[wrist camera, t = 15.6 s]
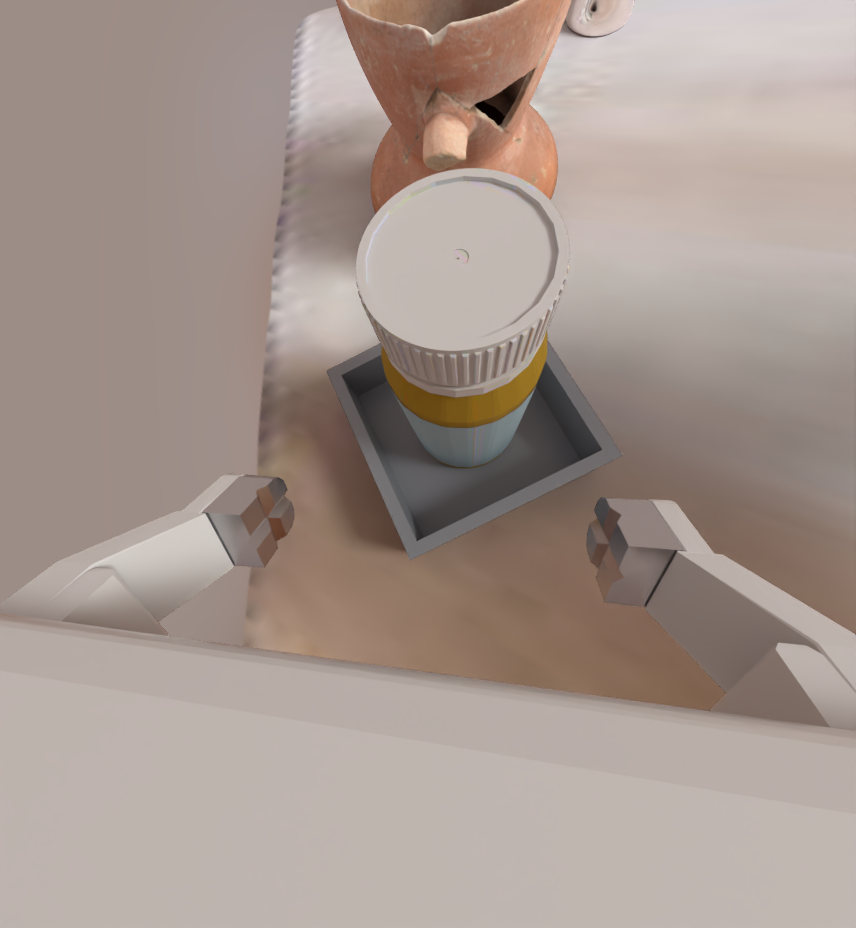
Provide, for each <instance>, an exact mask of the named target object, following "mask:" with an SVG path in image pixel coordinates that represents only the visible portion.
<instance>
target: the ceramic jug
mask: <svg viewBox="0 0 856 928" xmlns="http://www.w3.org/2000/svg"><path fill="white" fill-rule="evenodd" d="M336 1H337V5H338V8H339V11H340V14H341V17H342V20H343V23H344V25H345V28H346V31H347V34H348V36H349V39H350V42H351V44H352V46H353V49H354V51H355V53H356V56H357V58H358V60H359V62H360V65H361V67H362V69H363V71H364V73H365V75H366V77H367V79H368V81H369V84H370V86H371V88H372V90H373V91H374V93H375V95H376V97H377V99H378V101H379V103H380V104H381V106H382V108H383V110H384V111H385V113H386V115H387V116H388V118H389V120H390V121H391V123H392V126H391V127H390V128H389V130H388V131H387V133H386V134H385V136H384V138H383V139H382V141H381V143H380V145H379V148H378V150H377V153H376V156H375V159H374V163H373V168H372V175H371V197H372V202H373V206H374V210H375V213H377V212H378V211H379V209H380V208H381V207H382V206H383V205H384V204H385V203H386V202H387V201H388V200H389V199H391V198H392V197H393V196H394V195H396V194H397V193H398V192H400V191H401V190H402V189H404V188H406V187H407V186H409V185H411V184H413V183H414V182H416V181H419V180H421V179H423V178H425V177H428V176H431V175H434V174H437V173H441V172H445V171H449V170H456V169H466V168H480V169H490V170H496V171H501V172H504V173H508V174H511V175H514V176H516V177H518V178H521V179H523V180H525V181H527V182H528V183H530V184H532V185H533V186H535V187H536V188H537V189H539V190H540V191H541V192H542V193H544V194H545V195H546V196H547V197H548V198H549V199H550V200H551V198H552V195H553V192H554V189H555V185H556V181H557V173H558V158H557V150H556V145H555V141H554V138H553V136H552V133H551V131H550V129H549V127H548V125H547V124H546V122H545V121H544V120H543V118H542V117H541V116H540V115H539V113H538V112H537V111H536V110H535V109H534V108H533V107H532V106H531V105H530V104H529V103H530V101H531V99H532V97H533V95H534V92H535V90H536V88H537V86H538V83H539V81H540V79H541V77H542V74H543V72H544V69H545V67H546V64H547V62H548V60H549V57H550V55H551V53H552V50H553V48H554V45H555V43H556V41H557V38H558V36H559V33H560V31H561V28H562V25H563V23H564V21H565V18H566V15H567V12H568V9H569V6H570V4H571V1H572V0H336Z"/></svg>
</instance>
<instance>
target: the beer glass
mask: <svg viewBox="0 0 856 928" xmlns="http://www.w3.org/2000/svg"><path fill="white" fill-rule="evenodd" d="M634 3H635V0H572V1H571V4H570V6H569V9H568V12H567V15H566V18H565V20H566V23H567V25H568V26H569V28H570V29H571V30H572V31H574V32H576V33H578V34H580V35H583V36H590V37H596V36H603V35H607V34H610V33H613V32H615V31H617V30H618V29H620V28H621V27H622V26H624V25H625V24H626V23H627V21H628V20H629V18H630V17H631V14H632V12H633V8H634Z"/></svg>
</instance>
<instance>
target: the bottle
mask: <svg viewBox="0 0 856 928" xmlns="http://www.w3.org/2000/svg"><path fill="white" fill-rule="evenodd" d="M568 263H569V238H568V233H567V230H566V226H565V224H564V221H563V219H562V217H561V215H560V213H559V211H558V210H557V208H556V207H555V206H554V204H553V203H552V202H551V201H550V199H549V198H548V197H547V196H546V195H545V194H544V193H542V192H541V191H540V190H539V189H537V188H536V187H535V186H533V185H532V184H530V183H528V182H527V181H525V180H523V179H521V178H518V177H516V176H514V175H511V174H508V173H504V172H501V171H496V170H490V169H480V168H466V169H456V170H449V171H445V172H441V173H437V174H434V175H431V176H428V177H425V178H423V179H421V180H419V181H416V182H414V183H413V184H411V185H409V186H407V187H406V188H404V189H402V190H401V191H400V192H398V193H397V194H396V195H394V196H393V197H392V198H391V199H389V200H388V201H387V202H386V203H385V204H384V205H383V206H382V207H381V208H380V209H379V211H378V212H377V213H376V214H375V216H374V217H373V218H372V220H371V221H370V223H369V224H368V226H367V228H366V230H365V232H364V234H363V236H362V239H361V241H360V245H359V248H358V252H357V259H356V278H357V287H358V289H359V291H358V293H359V296H360V298H361V303H362V305H363V307H364V309H365V311H366V313H367V316H368V318H369V320H370V322H371V324H372V326H373V328H374V330H375V333H376V335H377V337H378V339H379V341H380V343H381V345H382V350H381V358H382V363H383V367H384V371H385V375H386V378H387V380H388V383H389V385H390V388H391V389H392V391H393V393H394V395H395V397H396V398H397V400H398V402H399V404H400V406H401V408H402V409H403V411H404V413H405V415H406V417H407V419H408V420H409V422H410V424H411V426H412V428H413V430H414V431H415V433H416V435H417V437H418V439H419V440H420V442H421V444H422V445H423V447H424V448H425V450H426V451H427V452H428V453H429V454H430V455H431V456H432V457H434V458H435V459H436V460H437V461H439V462H441V463H443V464H445V465H448V466H451V467H454V468H466V469H469V468H475V467H479V466H483V465H485V464H488V463H489V462H491V461H492V460H494V459H496V458H497V457H498V456H500V455H501V454H502V452H503V451H504V450H505V449H506V447H507V446H508V445H509V443H510V442H511V440H512V438H513V436H514V434H515V431H516V429H517V427H518V425H519V423H520V421H521V418H522V416H523V414H524V412H525V410H526V407H527V405H528V403H529V401H530V399H531V397H532V394H533V392H534V390H535V388H536V386H537V383H538V381H539V378H540V376H541V373H542V370H543V368H544V364H545V361H546V358H547V329H548V327H549V325H550V322H551V320H552V317H553V314H554V312H555V309H556V307H557V304H558V301H559V299H560V296H561V294H562V291H563V289H564V285H565V282H566V280H567V272H568V270H569V264H568Z"/></svg>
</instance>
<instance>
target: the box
mask: <svg viewBox="0 0 856 928" xmlns="http://www.w3.org/2000/svg"><path fill="white" fill-rule="evenodd" d="M381 350H382V345H381V343H380V344H378V345H376V346H374V347H372V348H370V349H368V350H366V351H365V352H363V353H361V354H359V355H357V356H355V357H353V358H351V359H349V360H347V361H345V362H343V363H341V364H339V365H337V366H335V367H333V368H331V369H329V370H327V374H328V376H329V378H330V380H331V383H332V385H333V387H334V389H335V392H336V394H337V396H338V398H339V401H340V403H341V405H342V407H343V410H344V412H345V414H346V416H347V419H348V421H349V423H350V425H351V428H352V430H353V432H354V434H355V437H356V439H357V441H358V443H359V446H360V448H361V450H362V452H363V455H364V457H365V459H366V461H367V464H368V466H369V468H370V471H371V473H372V475H373V477H374V480H375V482H376V484H377V486H378V489H379V491H380V493H381V495H382V498H383V500H384V502H385V504H386V507H387V509H388V511H389V513H390V516H391V518H392V520H393V522H394V525H395V527H396V529H397V531H398V534H399V536H400V538H401V540H402V543H403V545H404V547H405V549H406V552H407V554H408V556H409V558H410V560H412V559H414V558H416V557H418V556H420V555H422V554H424V553H426V552H428V551H430V550H432V549H434V548H436V547H438V546H440V545H442V544H444V543H446V542H448V541H450V540H452V539H454V538H456V537H458V536H460V535H462V534H464V533H466V532H469V531H471V530H473V529H475V528H477V527H479V526H481V525H483V524H485V523H487V522H489V521H491V520H493V519H495V518H497V517H499V516H501V515H503V514H505V513H507V512H509V511H511V510H513V509H515V508H517V507H519V506H521V505H523V504H525V503H527V502H530V501H532V500H534V499H536V498H538V497H540V496H542V495H544V494H546V493H548V492H550V491H552V490H554V489H556V488H558V487H560V486H562V485H564V484H566V483H568V482H570V481H572V480H574V479H576V478H578V477H580V476H582V475H584V474H586V473H588V472H590V471H593V470H595V469H597V468H599V467H601V466H603V465H605V464H607V463H609V462H611V461H613V460H615V459H617V458H619V457H621V456H623V455H622V453H621V452H620V450H619V449H618V447H617V446H616V444H615V443H614V441H613V440H612V438H611V437H610V435H609V434H608V432H607V430H606V429H605V427H604V426H603V424H602V423H601V421H600V420H599V418H598V417H597V415H596V414H595V412H594V411H593V409H592V408H591V406H590V404H589V403H588V401H587V400H586V398H585V397H584V395H583V394H582V392H581V391H580V389H579V388H578V386H577V385H576V383H575V381H574V380H573V378H572V377H571V375H570V374H569V372H568V371H567V369H566V368H565V366H564V365H563V363H562V362H561V360H560V358H559V357H558V355H557V354H556V352H555V351H554V349H553V348H552V346H551V345H550V343H549V342H548V340H547V358H546V361H545V364H544V368H543V370H542V373H541V376H540V378H539V381H538V383H537V386H536V388H535V390H534V392H533V394H532V397H531V399H530V401H529V403H528V405H527V407H526V410H525V412H524V414H523V416H522V418H521V421H520V423H519V425H518V427H517V429H516V431H515V434H514V436H513V438H512V440H511V442H510V443H509V445H508V446H507V447H506V449H505V450H504V451H503V452H502V454H501V455H500V456H498V457H497V458H496V459H494V460H492V461H491V462H489V463H488V464H485V465H483V466H479V467H475V468H469V469H466V468H454V467H451V466H448V465H445V464H443V463H441V462H439V461H437V460H436V459H435V458H434V457H432V456H431V455H430V454H429V453H428V452H427V451H426V450H425V448H424V447H423V445H422V444H421V442H420V440H419V439H418V437H417V435H416V433H415V431H414V430H413V428H412V426H411V424H410V422H409V420H408V419H407V417H406V415H405V413H404V411H403V409H402V408H401V406H400V404H399V402H398V400H397V398H396V397H395V395H394V393H393V391H392V389H391V388H390V385H389V383H388V380H387V378H386V375H385V371H384V367H383V363H382V358H381Z"/></svg>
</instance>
